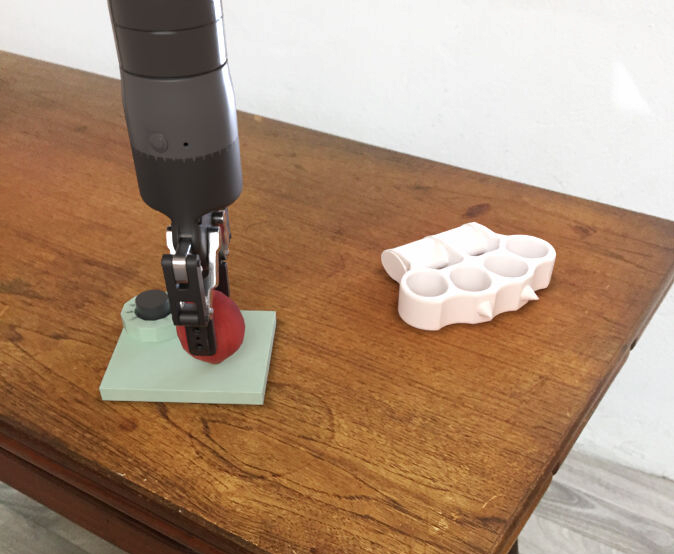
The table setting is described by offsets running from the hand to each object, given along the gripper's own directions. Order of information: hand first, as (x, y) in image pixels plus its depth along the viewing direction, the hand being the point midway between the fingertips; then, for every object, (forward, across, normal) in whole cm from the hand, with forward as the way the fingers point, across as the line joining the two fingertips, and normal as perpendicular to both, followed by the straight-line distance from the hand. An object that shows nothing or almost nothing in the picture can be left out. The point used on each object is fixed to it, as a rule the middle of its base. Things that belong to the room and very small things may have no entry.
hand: (211, 325), depth 63 cm
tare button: (+3, +6, +6) cm, 9 cm away
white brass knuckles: (+6, +15, -24) cm, 29 cm away
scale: (+5, +2, +2) cm, 6 cm away
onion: (+4, 0, 0) cm, 4 cm away
